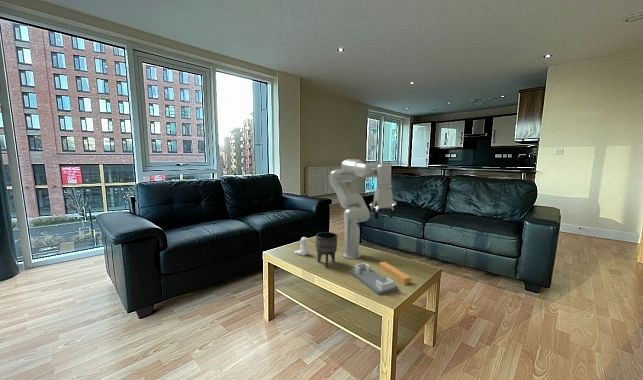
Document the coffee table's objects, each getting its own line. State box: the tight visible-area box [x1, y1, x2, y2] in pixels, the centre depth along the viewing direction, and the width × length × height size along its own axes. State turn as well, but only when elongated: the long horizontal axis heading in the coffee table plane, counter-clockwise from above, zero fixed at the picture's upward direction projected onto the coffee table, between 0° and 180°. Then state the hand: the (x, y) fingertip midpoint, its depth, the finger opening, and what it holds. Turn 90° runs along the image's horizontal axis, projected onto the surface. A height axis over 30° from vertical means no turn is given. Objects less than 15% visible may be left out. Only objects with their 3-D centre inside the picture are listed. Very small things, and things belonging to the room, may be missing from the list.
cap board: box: [349, 262, 399, 296], centre depth 134 cm, size 25×12×4 cm, turn 25°
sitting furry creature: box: [294, 236, 310, 257], centre depth 170 cm, size 10×9×12 cm
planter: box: [315, 231, 338, 268], centre depth 155 cm, size 13×13×18 cm
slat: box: [378, 261, 412, 285], centre depth 142 cm, size 22×4×4 cm, turn 22°
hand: (383, 218), depth 141 cm, fingers open, 9 cm apart
